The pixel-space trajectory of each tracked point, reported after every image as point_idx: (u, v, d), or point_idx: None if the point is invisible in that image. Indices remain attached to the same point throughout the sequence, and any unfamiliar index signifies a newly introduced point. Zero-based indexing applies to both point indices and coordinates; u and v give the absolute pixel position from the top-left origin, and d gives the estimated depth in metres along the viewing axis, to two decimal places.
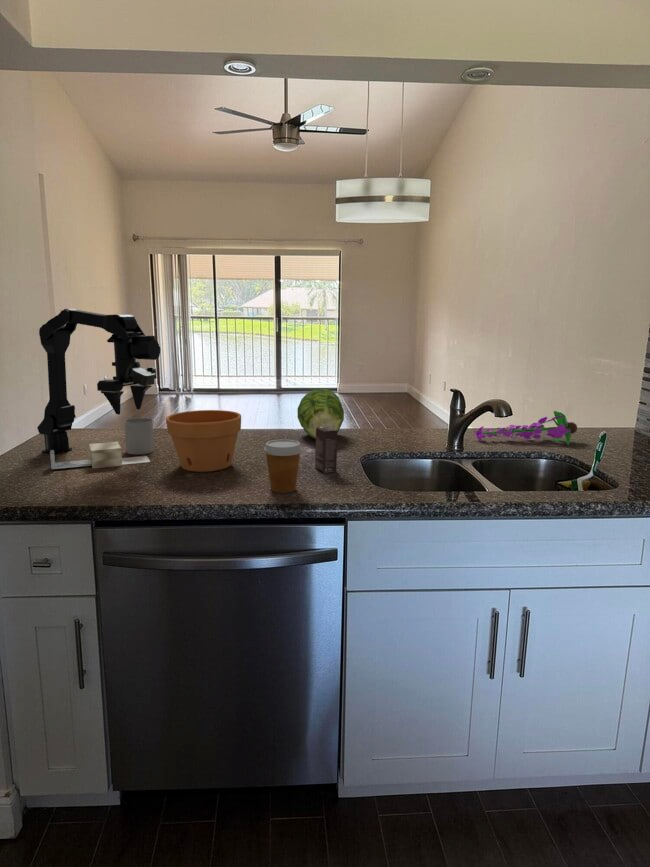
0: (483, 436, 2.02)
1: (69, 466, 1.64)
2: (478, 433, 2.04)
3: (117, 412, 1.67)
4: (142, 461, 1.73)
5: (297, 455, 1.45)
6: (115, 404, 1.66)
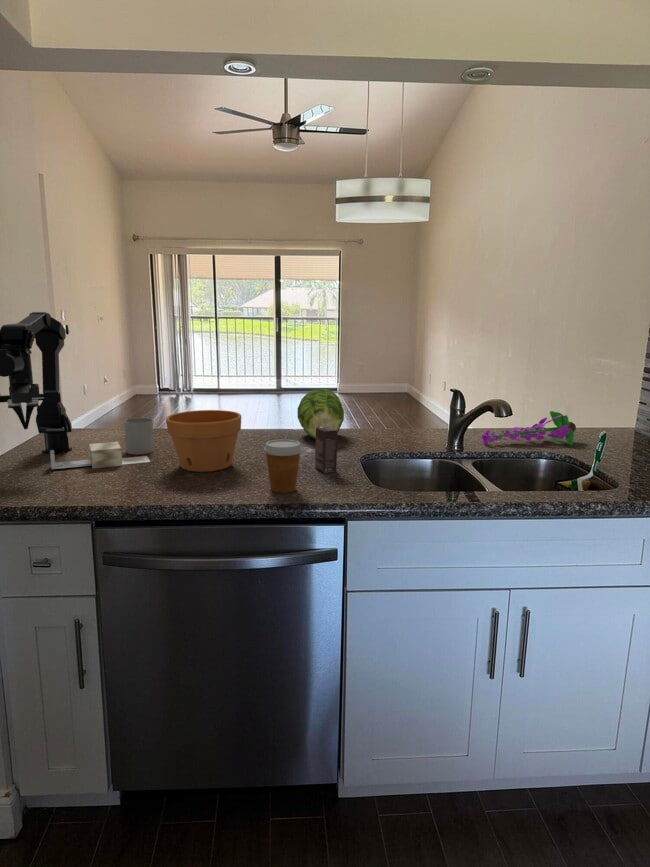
0: (491, 440, 1.96)
1: (69, 466, 1.64)
2: (485, 437, 1.98)
3: (23, 427, 1.59)
4: (142, 461, 1.73)
5: (297, 455, 1.45)
6: (19, 418, 1.58)
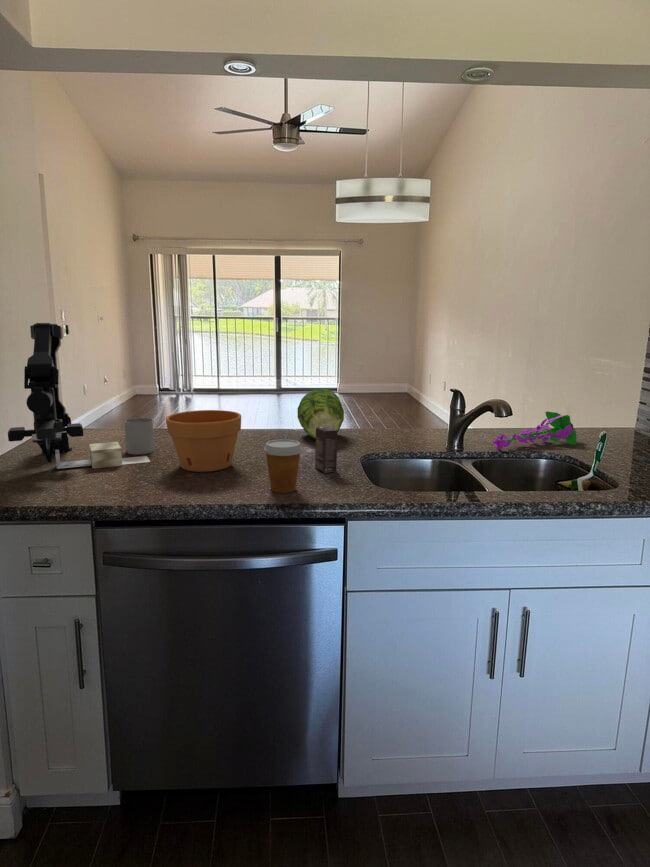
0: (506, 445, 1.90)
1: (74, 466, 1.65)
2: (499, 442, 1.91)
3: None
4: (142, 461, 1.73)
5: (297, 455, 1.45)
6: (43, 451, 1.63)
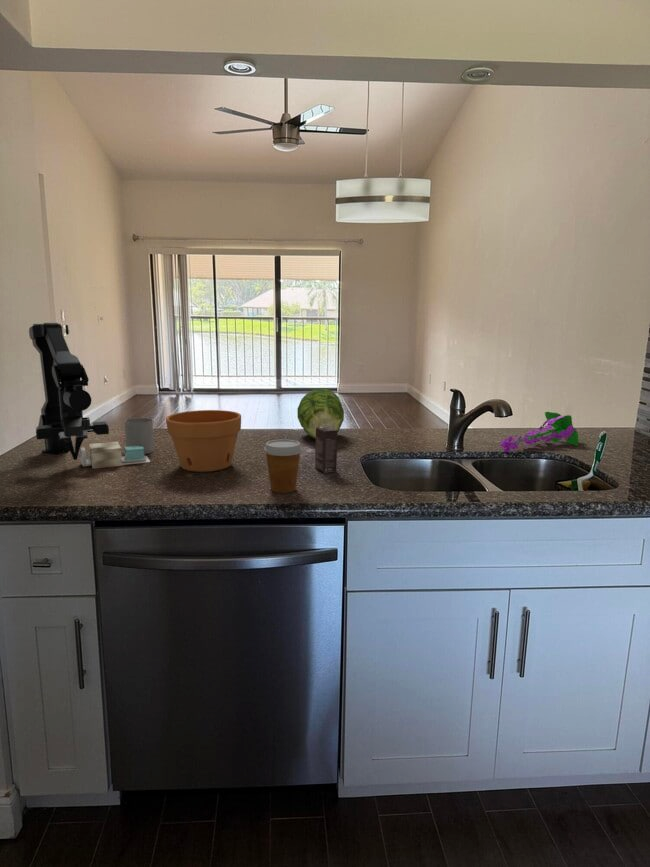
0: (514, 447, 1.87)
1: None
2: (507, 444, 1.88)
3: (73, 457, 1.66)
4: (142, 461, 1.73)
5: (297, 455, 1.45)
6: (69, 449, 1.65)
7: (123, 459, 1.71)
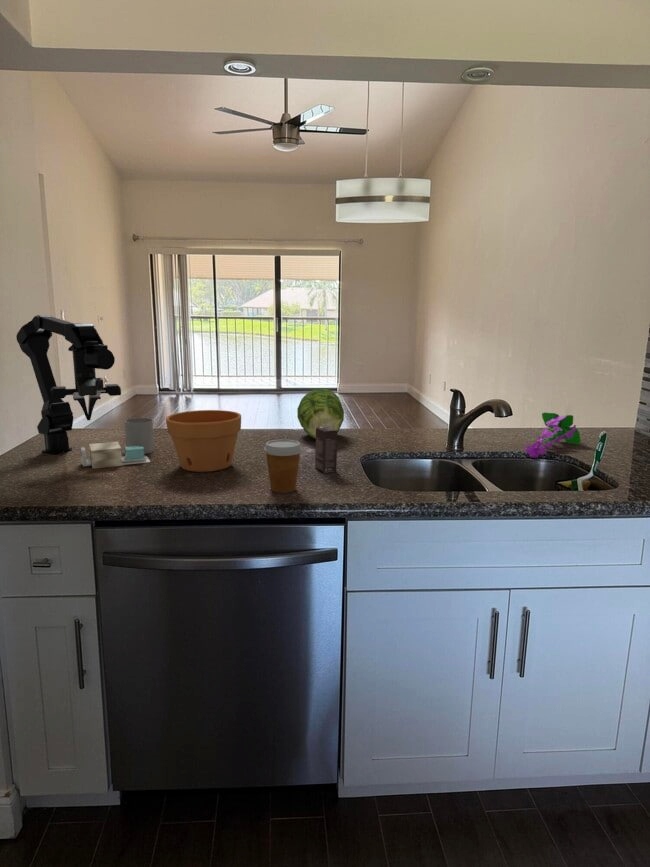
0: None
1: None
2: (535, 450, 1.81)
3: None
4: (142, 461, 1.73)
5: (297, 455, 1.45)
6: (83, 410, 1.71)
7: (123, 459, 1.71)
